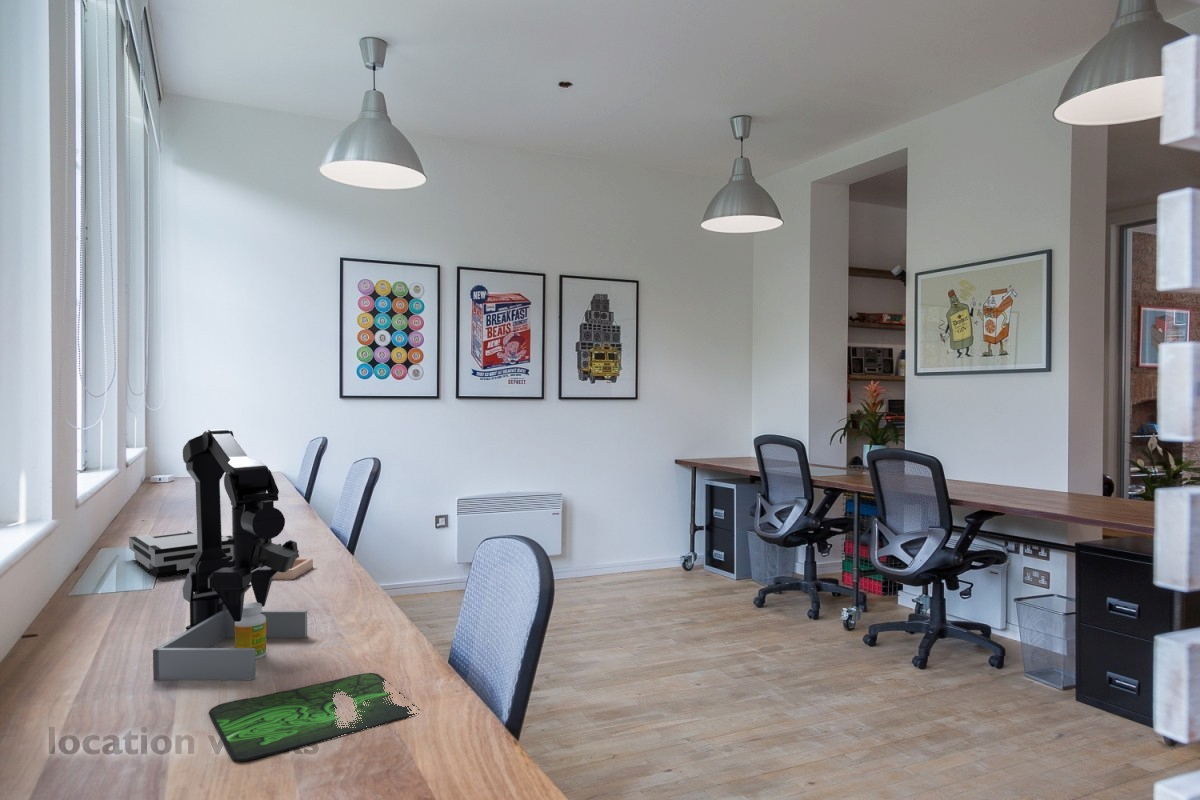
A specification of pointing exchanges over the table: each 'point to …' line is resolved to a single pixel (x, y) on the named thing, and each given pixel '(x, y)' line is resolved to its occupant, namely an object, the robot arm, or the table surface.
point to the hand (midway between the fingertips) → (250, 613)
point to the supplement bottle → (251, 629)
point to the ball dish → (296, 569)
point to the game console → (169, 551)
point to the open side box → (200, 662)
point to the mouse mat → (301, 716)
